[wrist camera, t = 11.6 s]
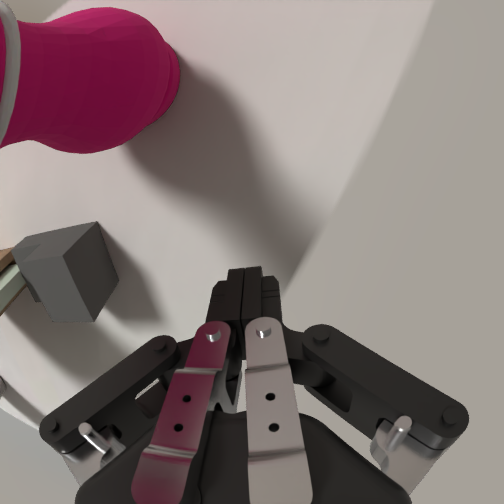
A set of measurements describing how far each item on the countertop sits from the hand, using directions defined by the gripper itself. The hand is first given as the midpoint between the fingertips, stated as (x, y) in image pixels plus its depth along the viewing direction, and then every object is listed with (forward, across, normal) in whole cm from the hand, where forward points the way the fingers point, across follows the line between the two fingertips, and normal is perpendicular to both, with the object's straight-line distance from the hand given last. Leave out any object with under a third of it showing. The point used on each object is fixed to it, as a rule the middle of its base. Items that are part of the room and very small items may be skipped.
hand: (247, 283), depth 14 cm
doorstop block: (+6, +15, 0) cm, 16 cm away
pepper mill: (+6, +6, -11) cm, 14 cm away
